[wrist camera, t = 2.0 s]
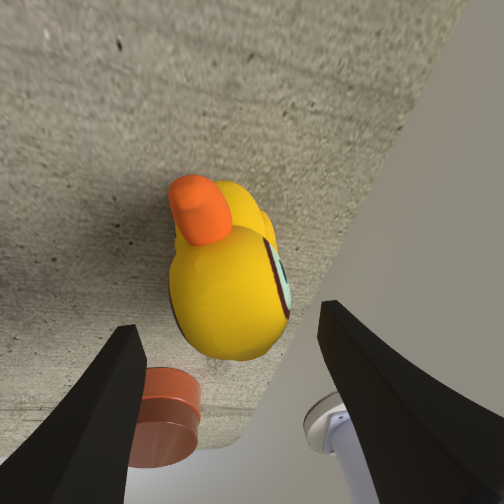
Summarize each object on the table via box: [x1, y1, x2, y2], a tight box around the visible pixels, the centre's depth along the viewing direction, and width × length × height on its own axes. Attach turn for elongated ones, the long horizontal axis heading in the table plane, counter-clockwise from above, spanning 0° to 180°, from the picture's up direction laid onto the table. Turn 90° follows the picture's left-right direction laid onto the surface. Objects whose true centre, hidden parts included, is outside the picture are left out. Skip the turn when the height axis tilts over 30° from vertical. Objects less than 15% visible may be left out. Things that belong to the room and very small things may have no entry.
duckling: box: [168, 175, 291, 361], centre depth 14 cm, size 11×5×10 cm, turn 14°
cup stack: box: [128, 368, 201, 468], centre depth 24 cm, size 7×7×4 cm
